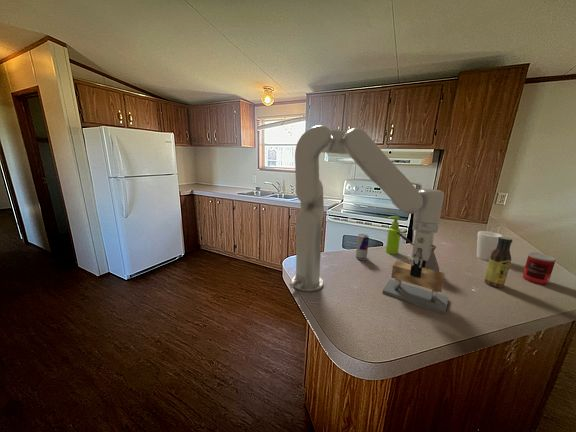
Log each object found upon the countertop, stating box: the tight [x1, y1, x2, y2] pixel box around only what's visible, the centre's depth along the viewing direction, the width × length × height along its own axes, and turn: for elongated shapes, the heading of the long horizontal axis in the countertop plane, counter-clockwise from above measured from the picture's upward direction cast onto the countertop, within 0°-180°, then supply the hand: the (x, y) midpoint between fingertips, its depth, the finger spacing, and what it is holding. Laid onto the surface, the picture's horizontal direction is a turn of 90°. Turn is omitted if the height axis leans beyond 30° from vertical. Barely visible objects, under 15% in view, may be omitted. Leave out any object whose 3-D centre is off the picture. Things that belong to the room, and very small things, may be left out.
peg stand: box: [382, 279, 449, 315], centre depth 85 cm, size 10×20×6 cm, turn 52°
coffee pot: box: [395, 232, 440, 272], centre depth 106 cm, size 21×12×15 cm, turn 31°
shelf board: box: [390, 260, 446, 293], centre depth 84 cm, size 16×5×5 cm, turn 53°
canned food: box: [522, 252, 556, 286], centre depth 97 cm, size 8×8×11 cm
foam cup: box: [476, 230, 504, 261], centre depth 118 cm, size 10×9×13 cm
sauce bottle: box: [484, 236, 513, 288], centre depth 93 cm, size 6×6×20 cm
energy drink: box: [355, 233, 370, 261], centre depth 117 cm, size 5×5×12 cm
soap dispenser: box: [385, 215, 402, 255], centre depth 123 cm, size 6×7×20 cm
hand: (417, 271), depth 84 cm, fingers open, 9 cm apart
